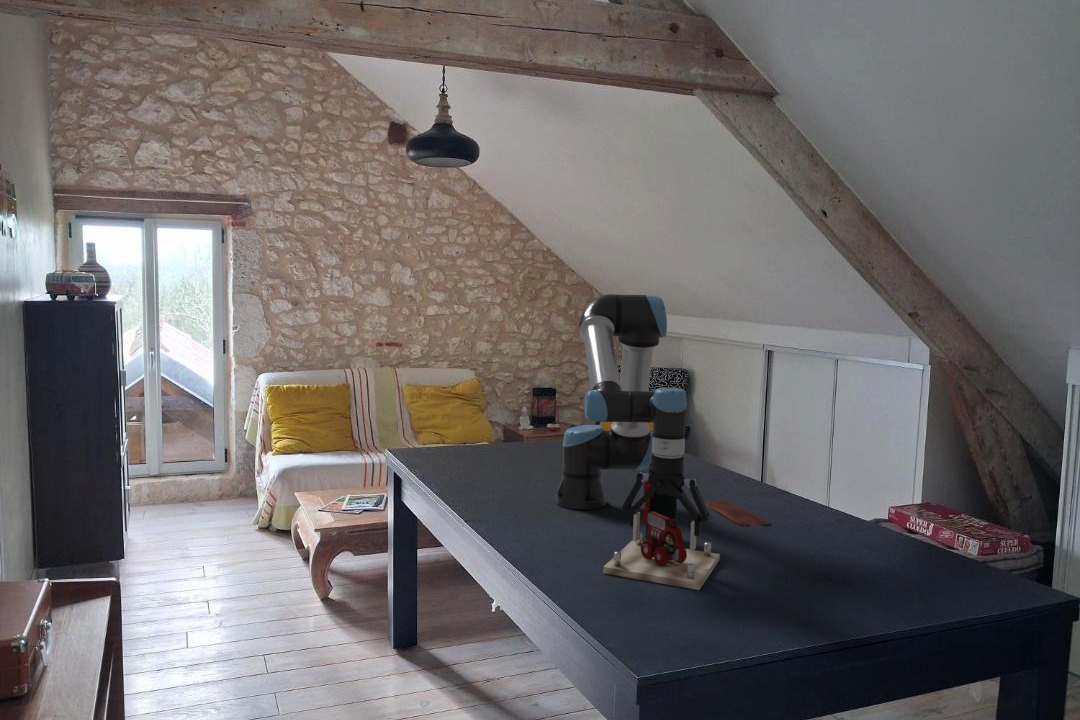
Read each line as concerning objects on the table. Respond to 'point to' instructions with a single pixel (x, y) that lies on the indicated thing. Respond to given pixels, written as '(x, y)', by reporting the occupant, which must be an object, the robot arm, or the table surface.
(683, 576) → the standoff plate
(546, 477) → the table surface
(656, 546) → the toy fire truck
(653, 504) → the wine bottle
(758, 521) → the wooden tablet
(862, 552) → the table surface
